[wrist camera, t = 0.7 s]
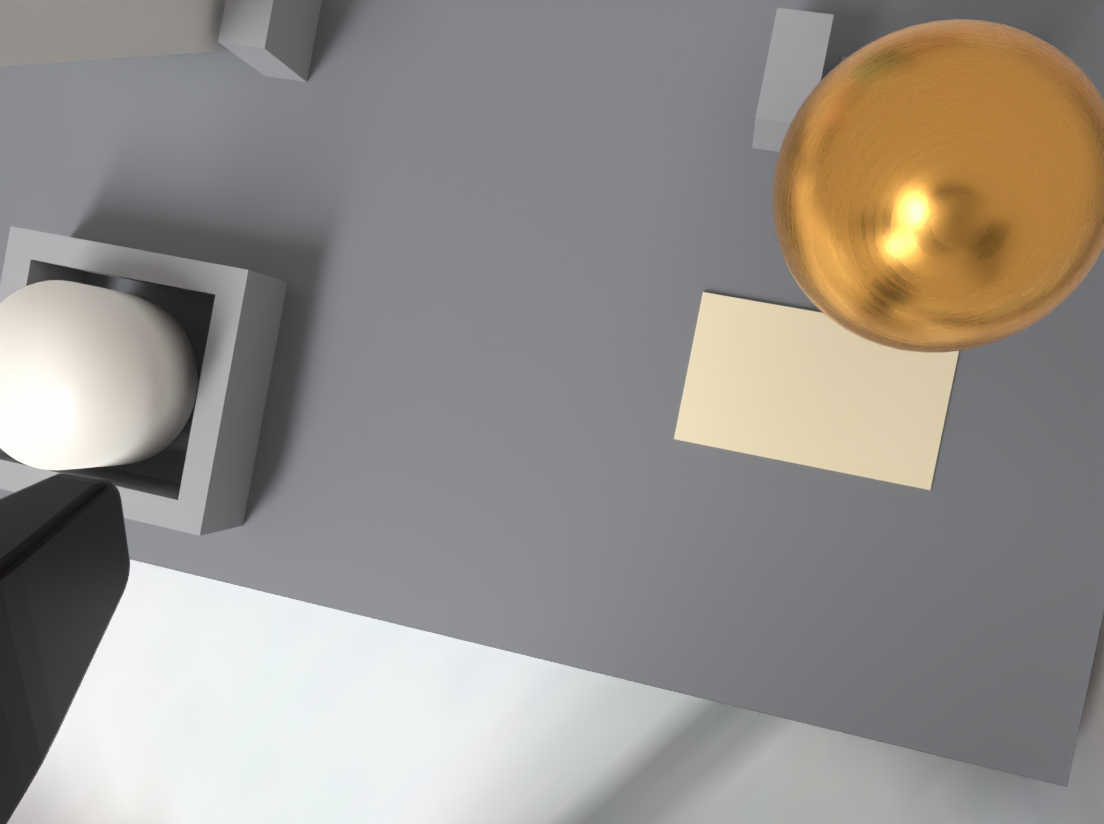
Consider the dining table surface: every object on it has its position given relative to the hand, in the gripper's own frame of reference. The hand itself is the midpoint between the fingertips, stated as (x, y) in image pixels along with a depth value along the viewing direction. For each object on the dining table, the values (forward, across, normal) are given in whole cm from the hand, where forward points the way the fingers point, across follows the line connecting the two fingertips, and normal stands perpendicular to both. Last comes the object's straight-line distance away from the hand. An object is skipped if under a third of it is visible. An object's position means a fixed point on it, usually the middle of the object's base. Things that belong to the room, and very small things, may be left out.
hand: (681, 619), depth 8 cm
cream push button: (+11, +11, +6) cm, 17 cm away
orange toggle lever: (+14, -4, -1) cm, 14 cm away
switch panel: (+15, +3, +4) cm, 15 cm away
